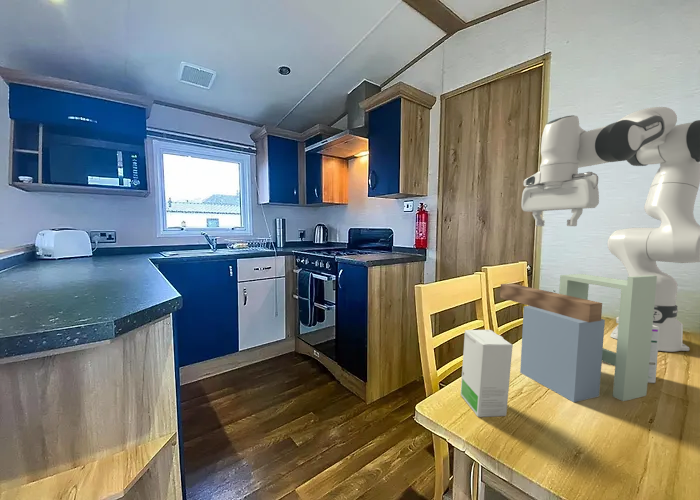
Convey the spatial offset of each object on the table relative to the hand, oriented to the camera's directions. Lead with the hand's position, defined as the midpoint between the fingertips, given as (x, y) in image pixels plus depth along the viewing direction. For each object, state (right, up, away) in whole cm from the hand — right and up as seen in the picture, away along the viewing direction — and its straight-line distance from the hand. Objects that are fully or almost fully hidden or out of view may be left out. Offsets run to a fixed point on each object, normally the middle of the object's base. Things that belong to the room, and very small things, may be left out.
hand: (554, 226), depth 84 cm
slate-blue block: (-7, -40, -11) cm, 42 cm away
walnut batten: (-8, -22, -7) cm, 24 cm away
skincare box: (-29, -41, -20) cm, 54 cm away
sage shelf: (+4, -40, -9) cm, 41 cm away
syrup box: (+16, -40, -7) cm, 44 cm away
